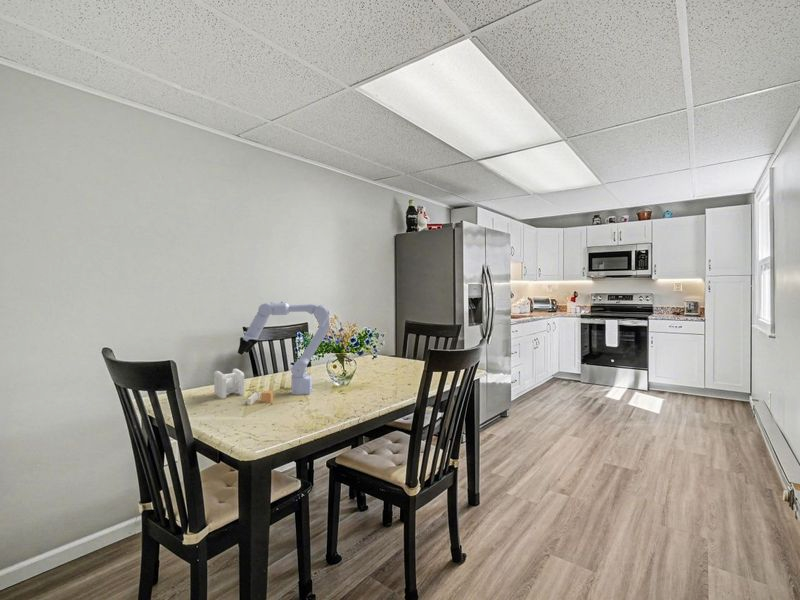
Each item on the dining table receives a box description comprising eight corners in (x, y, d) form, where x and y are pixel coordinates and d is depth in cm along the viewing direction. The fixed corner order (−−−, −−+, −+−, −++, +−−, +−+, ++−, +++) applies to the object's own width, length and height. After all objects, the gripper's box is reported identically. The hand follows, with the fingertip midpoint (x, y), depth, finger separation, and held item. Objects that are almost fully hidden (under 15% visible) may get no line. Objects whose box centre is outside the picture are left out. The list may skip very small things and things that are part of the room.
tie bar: (260, 397, 186) (260, 391, 185) (251, 404, 174) (251, 398, 174) (255, 397, 185) (255, 391, 185) (246, 404, 173) (246, 399, 173)
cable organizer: (245, 398, 188) (245, 373, 188) (220, 402, 182) (220, 375, 181) (236, 391, 200) (236, 367, 200) (212, 394, 194) (212, 370, 193)
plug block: (273, 399, 182) (273, 390, 182) (270, 402, 178) (270, 393, 178) (264, 399, 182) (264, 390, 182) (261, 402, 178) (261, 393, 178)
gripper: (253, 322, 198) (240, 347, 197) (243, 323, 183) (229, 350, 183) (266, 328, 198) (253, 354, 198) (257, 330, 184) (243, 357, 183)
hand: (242, 352), depth 190 cm, fingers open, 7 cm apart
